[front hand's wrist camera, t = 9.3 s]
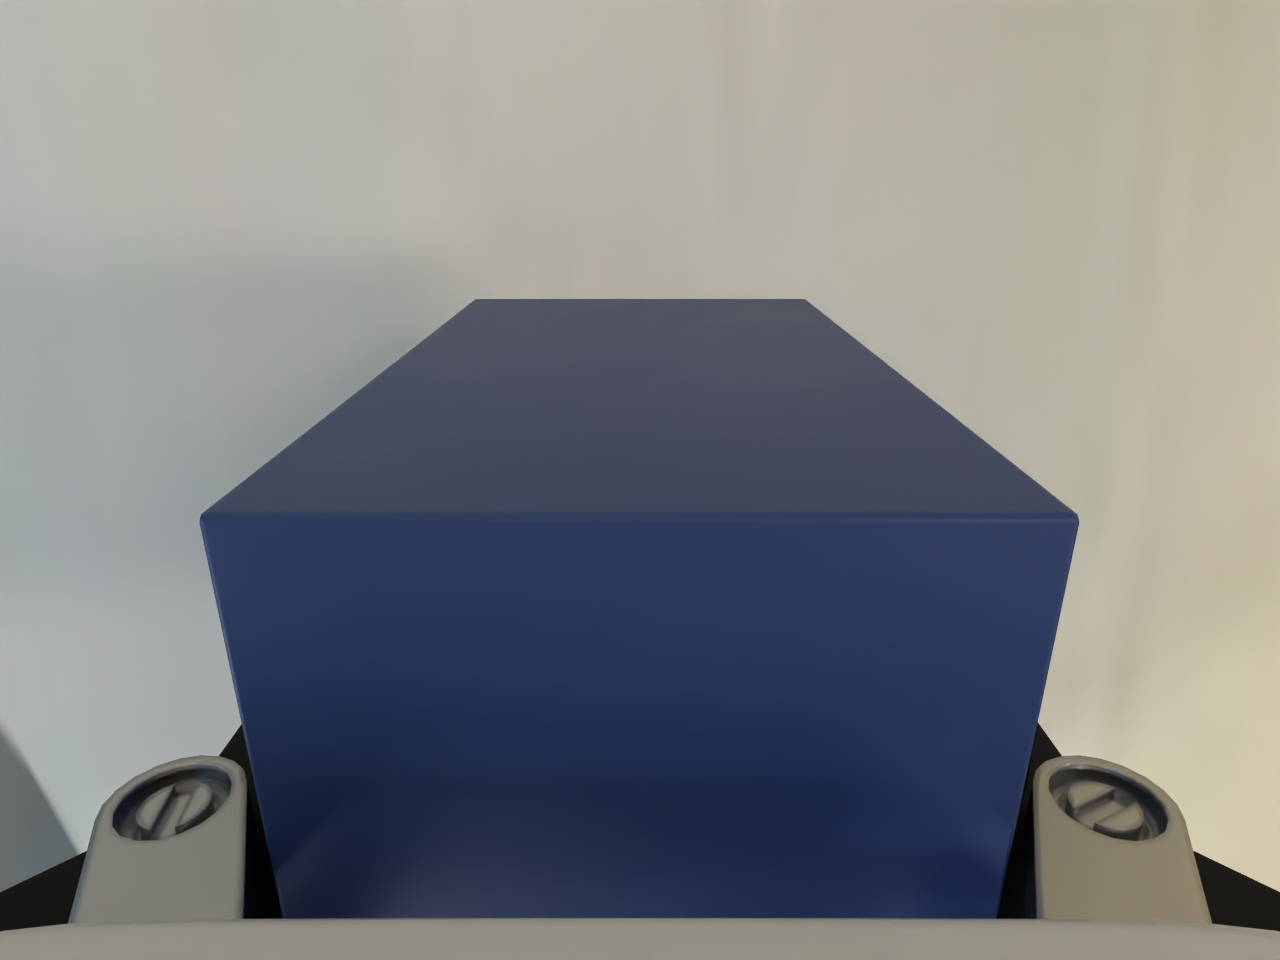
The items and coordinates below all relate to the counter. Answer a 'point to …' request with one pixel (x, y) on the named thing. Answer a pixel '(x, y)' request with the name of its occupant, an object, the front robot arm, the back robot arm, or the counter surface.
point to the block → (639, 627)
